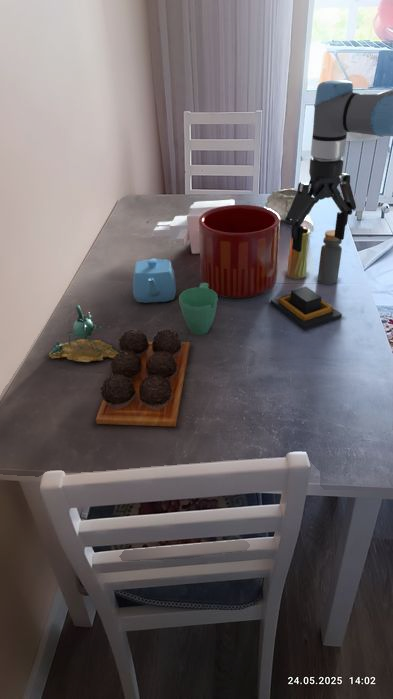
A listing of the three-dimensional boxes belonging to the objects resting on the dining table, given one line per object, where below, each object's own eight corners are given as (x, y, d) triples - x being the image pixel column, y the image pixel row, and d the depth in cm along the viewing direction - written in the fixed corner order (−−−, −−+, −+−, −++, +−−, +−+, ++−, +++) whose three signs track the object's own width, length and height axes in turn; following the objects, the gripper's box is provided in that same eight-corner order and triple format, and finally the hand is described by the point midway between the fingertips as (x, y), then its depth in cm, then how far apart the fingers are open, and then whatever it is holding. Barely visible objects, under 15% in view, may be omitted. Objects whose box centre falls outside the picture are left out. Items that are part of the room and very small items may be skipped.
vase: (282, 274, 150) (285, 231, 142) (294, 268, 154) (298, 225, 145) (298, 280, 147) (302, 236, 138) (310, 274, 150) (315, 230, 141)
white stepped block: (167, 235, 184) (240, 231, 178) (151, 263, 165) (232, 261, 159) (161, 196, 176) (237, 192, 170) (143, 222, 156) (229, 217, 150)
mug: (215, 341, 122) (214, 307, 116) (177, 338, 124) (174, 305, 118) (223, 311, 134) (223, 279, 128) (188, 309, 136) (186, 277, 130)
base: (341, 317, 129) (342, 310, 128) (305, 330, 125) (305, 322, 123) (304, 292, 141) (305, 285, 139) (270, 303, 137) (270, 296, 135)
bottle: (314, 281, 146) (319, 234, 137) (322, 273, 150) (327, 227, 141) (332, 286, 143) (339, 238, 134) (340, 278, 147) (347, 231, 138)
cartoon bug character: (59, 340, 126) (53, 290, 117) (125, 351, 124) (124, 301, 115) (43, 361, 118) (35, 310, 109) (113, 374, 116) (111, 322, 108)
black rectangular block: (320, 309, 130) (321, 296, 128) (305, 314, 129) (306, 301, 126) (304, 298, 136) (305, 286, 133) (289, 303, 134) (290, 290, 131)
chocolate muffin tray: (176, 427, 98) (173, 396, 93) (96, 424, 100) (89, 394, 95) (189, 347, 121) (187, 318, 116) (124, 346, 122) (120, 318, 117)
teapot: (132, 315, 134) (127, 278, 128) (136, 284, 149) (132, 250, 142) (176, 313, 134) (173, 276, 128) (176, 282, 149) (174, 248, 142)
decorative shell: (317, 222, 183) (320, 196, 177) (273, 228, 181) (274, 202, 175) (299, 207, 198) (301, 182, 192) (258, 212, 195) (259, 187, 189)
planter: (251, 259, 160) (253, 199, 148) (291, 288, 143) (297, 223, 131) (188, 275, 152) (185, 213, 140) (222, 308, 135) (222, 240, 123)
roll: (297, 240, 171) (299, 225, 167) (293, 227, 180) (294, 213, 177) (315, 240, 170) (316, 225, 167) (309, 227, 180) (311, 212, 177)
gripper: (357, 146, 118) (345, 228, 131) (272, 163, 109) (269, 250, 122) (379, 151, 113) (365, 237, 125) (292, 170, 104) (287, 260, 116)
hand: (318, 244), depth 123 cm, fingers open, 13 cm apart
